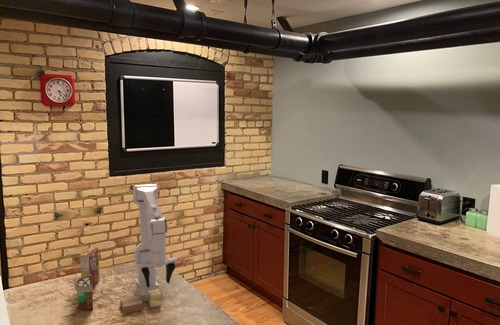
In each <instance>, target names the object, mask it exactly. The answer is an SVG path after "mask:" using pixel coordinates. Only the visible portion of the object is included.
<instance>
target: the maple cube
mask: <svg viewBox="0 0 500 325" xmlns="http://www.w3.org/2000/svg"><path fill="white" fill-rule="evenodd" d="M147 302H148V303H147V304H148V305H149V307H150V308H156V307H161V306H162V292H161V291H160V289H159V288H157V289H156V290H151V291H148V301H147Z"/></svg>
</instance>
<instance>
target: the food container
mask: <svg viewBox="0 0 500 325" xmlns="http://www.w3.org/2000/svg"><path fill="white" fill-rule="evenodd" d="M74 285H75V286H74V289H75V291H76V293H77V302H78V303H77V304H78V309H79V310H82V311H88V312H89V311H94V300H93V299H94V298H93V297H94V296H93V288H92V274H90V275H86V276H83V277H79V278H77V279H76V282H75V284H74Z"/></svg>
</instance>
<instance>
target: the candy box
mask: <svg viewBox="0 0 500 325" xmlns="http://www.w3.org/2000/svg"><path fill="white" fill-rule="evenodd" d="M79 261H80V276H81V277H83V276H86V275H90V274H92V289H94V287H95V286H97V284H98V283H99V282H100V281H101V277H100V276H101V275H100V274H101V273H100V258H99V248H98V247H89V248H88V249H86V250H84V252H82V253H80V255H79ZM81 277H80V278H81Z"/></svg>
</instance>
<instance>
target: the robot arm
mask: <svg viewBox="0 0 500 325" xmlns="http://www.w3.org/2000/svg"><path fill="white" fill-rule="evenodd" d="M158 197H159V187H158V185H157V183H153V184H152V183H150V184H134V185H133V187H132V199H133V200H132V201H133V204H135V205H137V206H138V209H139V210H138V211H139V213H138V214H139V226H140V227H139V229H140V230H139V231H140V243H139V244H138V245H136V246H135V248H134V263H135V265H136V266H137V279H135V283H136V284H137V286H138V288H142V287H149V286H152V285H155V286H156V287H159V283H158V281H157V274H156V273H157V268H161V267H164V266H165V271H166V273H165V275H166V276H165V281H166V283H167V284H170V283H171V277H172V275H173V272H174V271H175V270H176V265H177V264H178V258H177V257H175V256H174V257H166V234H167V232H168V220H167V218H166V217H164V216H163V213H162V211H161V208H160V206H158V205H157V202H156V200H157V199H158Z"/></svg>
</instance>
